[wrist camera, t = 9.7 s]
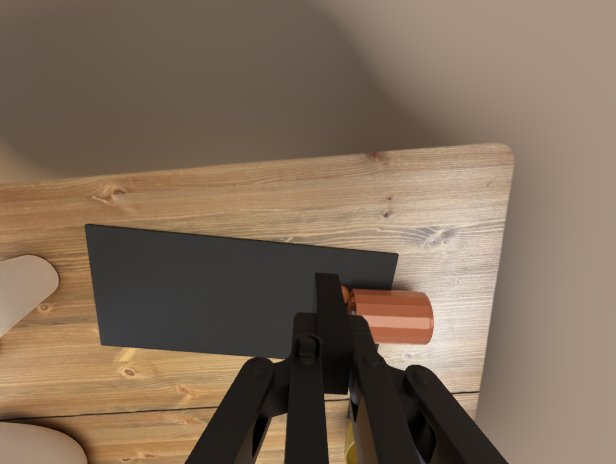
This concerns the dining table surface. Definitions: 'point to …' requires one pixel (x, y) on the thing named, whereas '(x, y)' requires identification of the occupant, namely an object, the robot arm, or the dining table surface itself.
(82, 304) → the dining table surface
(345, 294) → the brown piece
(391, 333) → the spoon cup
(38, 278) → the cup
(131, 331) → the mat
